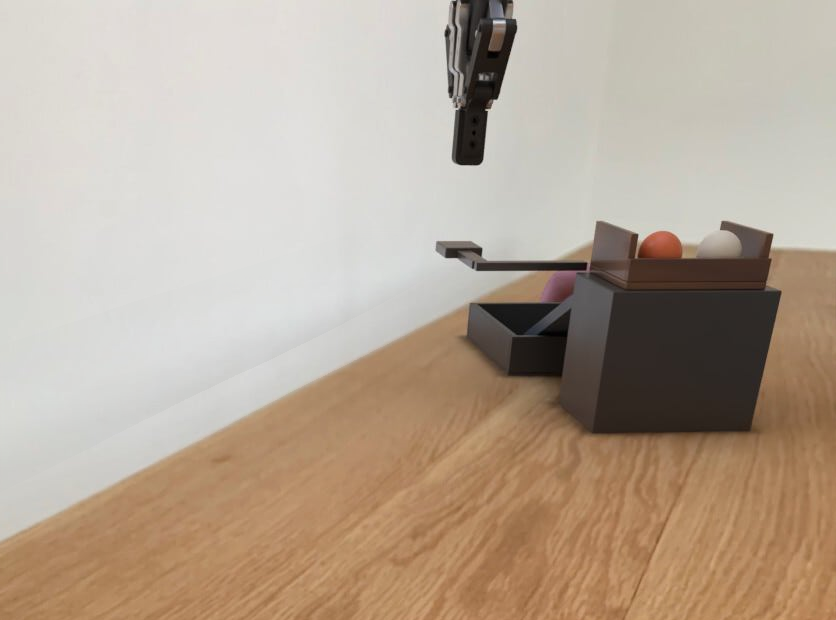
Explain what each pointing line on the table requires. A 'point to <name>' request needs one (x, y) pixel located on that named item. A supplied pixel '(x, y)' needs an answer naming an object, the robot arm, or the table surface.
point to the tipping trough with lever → (644, 262)
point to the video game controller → (560, 286)
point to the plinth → (665, 357)
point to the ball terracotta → (660, 246)
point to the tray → (516, 337)
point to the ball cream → (720, 246)
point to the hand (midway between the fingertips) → (466, 164)
